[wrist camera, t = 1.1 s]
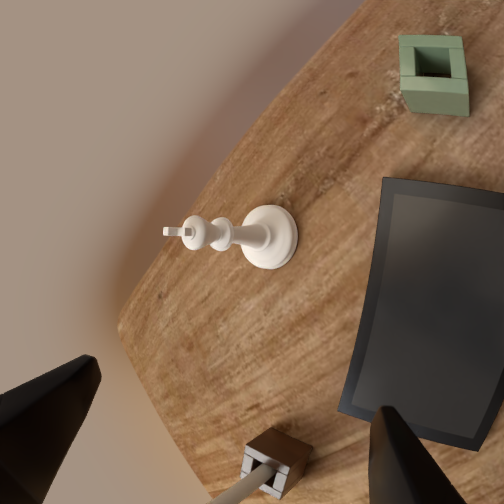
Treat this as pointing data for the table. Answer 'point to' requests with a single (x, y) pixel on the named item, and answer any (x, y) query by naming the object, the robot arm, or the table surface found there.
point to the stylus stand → (276, 460)
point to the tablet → (433, 313)
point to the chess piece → (245, 235)
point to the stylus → (245, 486)
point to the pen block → (434, 61)
